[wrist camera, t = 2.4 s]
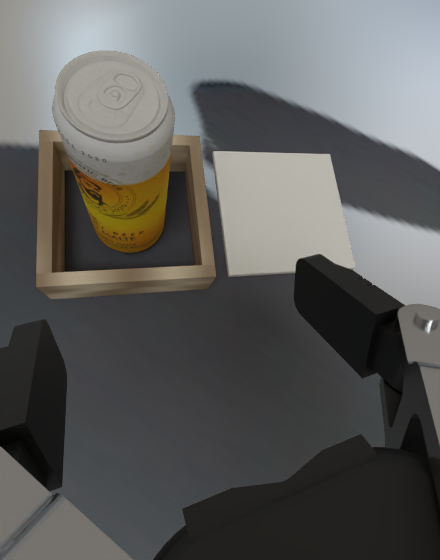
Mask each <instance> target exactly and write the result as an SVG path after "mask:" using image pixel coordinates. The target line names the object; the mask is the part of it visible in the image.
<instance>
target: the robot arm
mask: <svg viewBox="0 0 440 560" xmlns="http://www.w3.org/2000/svg"><path fill="white" fill-rule="evenodd" d="M294 302H295V306H296V308H297V310H298V312H299V313H300V314H301V316H302V317H303V318H304V319H305V320H306V321H307V322H308V323H309V324H310V325H311V326H312V327H313V328H314V329H315V330H316V331H317V332H318V333H319V334H320V335H321V336H322V337H323V338H324V339H325V340H326V341H327V342H328V343H329V344H330V345H331V346H332V347H333V348H334V349H335V351H336V352H337V353H338V354H339V355H340V356H341V357H342V358H343V359H344V360H345V361H346V362H347V363H348V364H349V365H350V366H351V367H352V368H353V369H354V370H355V371H356V372H357V373H358V374H359V375H360V376H361V377H362V378H365V377H367V376H370V375H373V374H375V373H378V374H379V375H380V376H381V380H380V395H381V404H382V413H383V422H384V431H385V447H373V448H372V447H371V446H370V445H369V444H368V442H367V441H366V440H365V439H364V437H363V436H362V435H361V434H360V435H358V436H356V437H353V438H351V439H348V440H346V441H344V442H341V443H339V444H336V445H334V446H332V447H329V448H327V449H325V450H322V451H321V452H320V453H319V454H317V455H316V456H315V457H314V458H313V459H311V460H310V461H309V462H308V463H307V464H306V465H304V466H303V467H302V468H301V469H300V470H298V471H297V472H296V473H295V474H294V475H293V476H291V477H290V478H289V479H288V480H286V481H283V482H279V483H271V484H263V485H255V486H247V487H239V488H231V489H229V490H226V491H224V492H222V493H219V494H217V495H214V496H212V497H210V498H207V499H205V500H203V501H200V502H198V503H195V504H193V505H191V506H188V507H186V508H183V514H184V518H185V522H186V525H185V526H184V527H183V528H182V529H180V530H179V531H178V532H177V533H176V534H175V535H174V536H173V537H172V538H171V539H170V540H169V541H168V542H167V543H166V544H165V545H164V546H163V547H162V549H161V550H160V551H159V553H158V554H157V555H156V556H155V558H154V559H153V560H440V309H438V308H435V307H432V306H427V305H421V304H412V305H406V306H405V305H404V304H402V303H401V302H399V301H398V300H396V299H394V298H393V297H392V296H390V295H388V294H387V293H386V292H384V291H383V290H381V289H380V288H378V287H377V286H375V285H372V283H371V282H369V281H368V280H366V279H363V278H362V276H360V275H359V274H357V273H356V272H354V271H353V270H351V269H349V268H346V267H343V266H340V265H338V264H335V263H333V262H332V261H330V260H329V259H327V258H326V257H325V256H323V255H321V254H316V255H312V256H308V257H304V258H300V259H298V260H297V262H296V270H295V287H294ZM66 393H67V373H66V368H65V364H64V360H63V358H62V355H61V353H60V351H59V348H58V346H57V343H56V341H55V339H54V336H53V334H52V331H51V329H50V327H49V325H48V323H47V321H46V320H44V319H43V320H39V321H35V322H31V323H27V324H23V325H18V326H15V327H14V329H13V332H12V336H11V339H10V343H9V346H8V347H5V348H1V349H0V560H133V559H132V558H131V557H130V556H128V555H127V554H126V553H125V552H124V551H123V550H122V549H121V548H120V547H119V546H117V545H116V544H115V543H114V542H113V541H112V540H111V539H110V538H109V537H108V536H106V535H105V534H104V533H103V532H102V531H101V530H100V529H99V528H98V527H97V526H95V525H94V524H93V523H92V522H91V521H90V520H89V519H88V518H87V517H86V516H84V515H83V514H82V513H81V512H80V511H79V510H78V509H77V508H76V507H75V506H74V505H72V504H71V503H70V502H69V501H68V500H67V499H66V498H64V497H63V496H62V495H60V494H58V493H56V494H55V495H53V494H51V493H50V492H49V491H52V490H55V489H57V488H60V487H62V477H63V456H64V435H65V414H66Z"/></svg>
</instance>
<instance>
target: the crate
mask: <svg viewBox="0 0 440 560" xmlns="http://www.w3.org/2000/svg"><path fill="white" fill-rule="evenodd" d="M65 170H72V167H71V164H70V161H69V159H68V156H67V153H66V151H65V148H64V145H63V143H62V140H61V137H60V134H59V132H58V131H47V130H40V131H39V172H38V220H37V267H36V287H37V288H38V289H39V290H40V291H42V292H43V293H44V294H45V295H47V296H48V297H49V298H51V299H64V298H79V297H94V296H109V295H123V294H138V293H153V292H168V291H183V290H198V289H208V288H209V286H210V285H211V283H212V282H213V280H214V279H215V278H216V270H215V262H214V254H213V245H212V237H211V228H210V220H209V211H208V203H207V195H206V186H205V178H204V170H203V161H202V153H201V144H200V136H183V135H173V141H172V151H171V161H170V171H169V172H185V179H186V189H187V198H188V208H189V218H190V228H191V237H192V247H193V257H194V266H175V267H155V268H135V269H115V270H96V271H76V272H65Z"/></svg>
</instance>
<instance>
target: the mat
mask: <svg viewBox="0 0 440 560" xmlns="http://www.w3.org/2000/svg"><path fill="white" fill-rule="evenodd" d="M212 157H213V165H214V172H215V180H216V188H217V196H218V204H219V211H220V219H221V227H222V235H223V243H224V251H225V258H226V266H227V274H228V277H235V276H252V275H269V274H286V273H295V270H296V262H297V260H298V259H300V258H304V257H308V256H312V255H316V254H321V255H323V256H325V257H326V258H327V259H329V260H330V261H332V262H333V263H335V264H338V265H340V266H343V267H346V268H349V269H351V270H352V269H354V268H355V262H354V258H353V254H352V249H351V245H350V241H349V236H348V232H347V227H346V223H345V219H344V214H343V210H342V206H341V201H340V197H339V192H338V188H337V184H336V179H335V175H334V171H333V166H332V162H331V157H330V154H301V153H264V152H227V151H213V154H212Z"/></svg>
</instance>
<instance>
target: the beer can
mask: <svg viewBox="0 0 440 560" xmlns="http://www.w3.org/2000/svg"><path fill="white" fill-rule="evenodd" d="M52 110H53V117H54V121H55V123H56V126H57V129H58V132H59V134H60V137H61V140H62V143H63V145H64V148H65V151H66V153H67V156H68V159H69V161H70V164H71V167H72V170H73V172H74V175H75V178H76V180H77V183H78V186H79V189H80V191H81V194H82V197H83V199H84V202H85V205H86V208H87V210H88V213H89V216H90V218H91V221H92V224H93V226H94V229H95V232H96V234H97V236H98V237H99V239H100V240H101V241H102V242H103V243H104V244H105V245H107V246H108V247H110V248H112V249H114V250H117V251H120V252H126V253H133V252H139V251H142V250H145V249H147V248H149V247H150V246H152V245H153V244H154V243H155V242H156V241H157V240H158V239H159V237H160V236H161V234H162V231H163V228H164V220H165V210H166V200H167V190H168V181H169V171H170V161H171V151H172V141H173V131H174V121H175V114H174V108H173V105H172V102H171V100H170V97H169V96H168V93H167V89H166V86H165V84H164V82H163V80H162V79H161V77H160V76H159V75H158V73H157V72H156V71H155V70H154V69H153V68H152V67H150V66H149V65H148V64H147V63H145V62H144V61H142V60H140V59H138V58H136V57H134V56H132V55H129V54H126V53H121V52H116V51H95V52H89V53H86V54H83V55H81V56H78V57H77V58H75V59H73V60H72V61H71V62H69V63H68V64H67V65H66V66H65V67H64V68H63V69H62V71H61V72H60V74H59V76H58V78H57V81H56V87H55V95H54V99H53V107H52Z"/></svg>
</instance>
